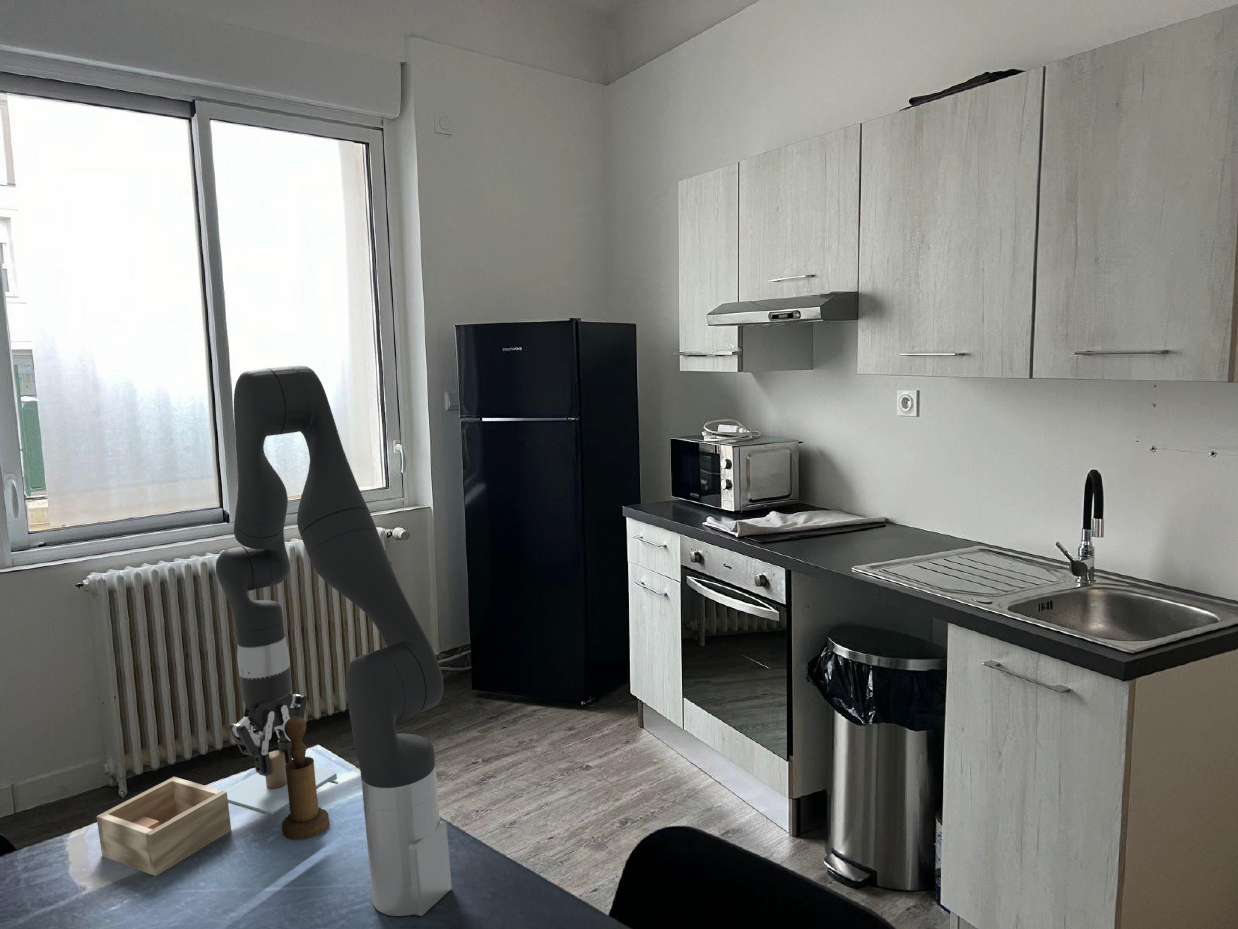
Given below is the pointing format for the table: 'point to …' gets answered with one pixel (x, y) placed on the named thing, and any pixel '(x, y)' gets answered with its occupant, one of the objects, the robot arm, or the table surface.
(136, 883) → the table surface
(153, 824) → the block
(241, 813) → the table surface
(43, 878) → the table surface
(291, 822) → the mortar and pestle
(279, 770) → the lid
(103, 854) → the box
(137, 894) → the table surface
